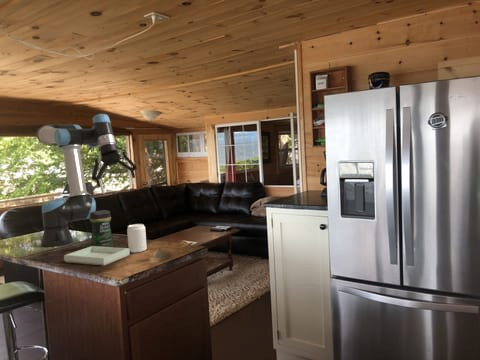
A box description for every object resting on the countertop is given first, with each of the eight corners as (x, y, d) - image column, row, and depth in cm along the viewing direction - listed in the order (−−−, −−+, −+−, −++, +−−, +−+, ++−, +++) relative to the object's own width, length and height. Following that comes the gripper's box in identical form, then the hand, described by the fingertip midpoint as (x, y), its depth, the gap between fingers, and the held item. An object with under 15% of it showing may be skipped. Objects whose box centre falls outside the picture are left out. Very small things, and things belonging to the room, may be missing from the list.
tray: (64, 262, 168) (64, 255, 168) (92, 252, 183) (91, 246, 183) (104, 265, 159) (103, 258, 159) (129, 255, 174) (129, 248, 174)
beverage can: (140, 253, 176) (138, 227, 175) (125, 252, 178) (123, 227, 177) (150, 249, 183) (148, 223, 182) (135, 248, 186) (133, 223, 185)
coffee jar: (96, 251, 184) (93, 212, 183) (89, 249, 190) (86, 211, 189) (115, 247, 191) (112, 209, 190) (108, 244, 197) (105, 208, 195)
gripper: (77, 150, 174) (88, 195, 170) (133, 136, 178) (144, 179, 174) (82, 155, 181) (92, 198, 177) (135, 142, 186) (147, 183, 181)
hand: (118, 189), depth 175 cm, fingers open, 13 cm apart
